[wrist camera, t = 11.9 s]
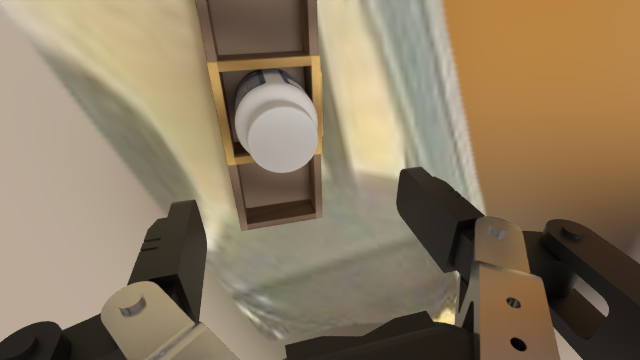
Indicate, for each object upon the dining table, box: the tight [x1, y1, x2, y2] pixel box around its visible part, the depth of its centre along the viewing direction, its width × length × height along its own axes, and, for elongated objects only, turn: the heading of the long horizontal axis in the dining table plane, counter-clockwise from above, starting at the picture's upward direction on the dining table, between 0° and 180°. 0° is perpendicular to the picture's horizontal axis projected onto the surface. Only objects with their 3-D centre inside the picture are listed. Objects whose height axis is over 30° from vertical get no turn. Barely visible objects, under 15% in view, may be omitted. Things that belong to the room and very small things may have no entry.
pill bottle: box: [235, 68, 318, 173], centre depth 21 cm, size 5×5×9 cm
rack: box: [195, 0, 323, 231], centre depth 24 cm, size 21×8×4 cm, turn 3°
